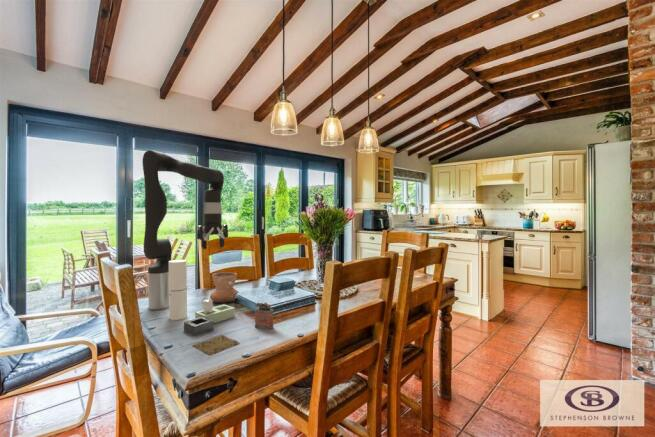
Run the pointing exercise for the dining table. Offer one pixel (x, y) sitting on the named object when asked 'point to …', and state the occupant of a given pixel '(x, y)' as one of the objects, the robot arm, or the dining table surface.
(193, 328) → the block
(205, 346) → the tan flat square slab
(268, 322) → the lighter
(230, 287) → the ceramic jug
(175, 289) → the cylindrical container
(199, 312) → the rack
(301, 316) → the dining table surface
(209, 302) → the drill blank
